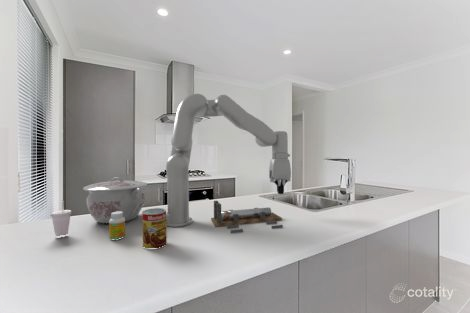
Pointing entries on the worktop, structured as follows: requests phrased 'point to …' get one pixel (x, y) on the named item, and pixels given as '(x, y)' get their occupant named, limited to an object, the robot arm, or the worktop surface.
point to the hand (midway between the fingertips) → (280, 193)
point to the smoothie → (61, 221)
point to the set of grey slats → (242, 229)
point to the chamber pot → (115, 199)
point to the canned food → (154, 228)
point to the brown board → (236, 221)
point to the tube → (245, 213)
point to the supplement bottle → (116, 225)
